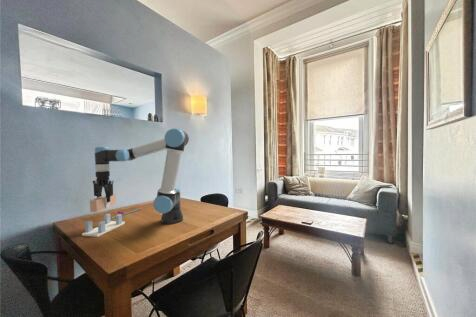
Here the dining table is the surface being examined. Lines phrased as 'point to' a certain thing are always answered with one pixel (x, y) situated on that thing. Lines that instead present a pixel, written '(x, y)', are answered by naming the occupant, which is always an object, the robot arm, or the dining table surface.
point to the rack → (102, 226)
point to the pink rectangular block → (101, 203)
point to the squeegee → (125, 213)
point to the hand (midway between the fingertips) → (104, 206)
